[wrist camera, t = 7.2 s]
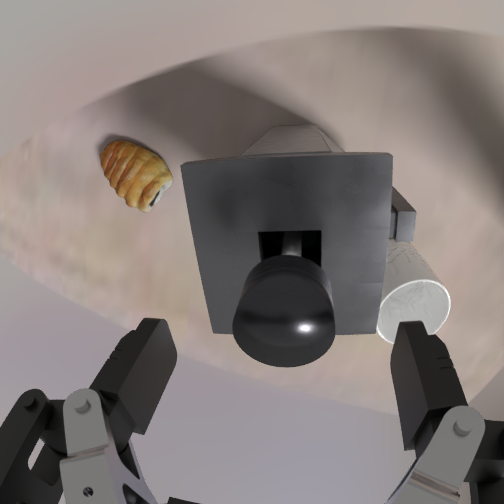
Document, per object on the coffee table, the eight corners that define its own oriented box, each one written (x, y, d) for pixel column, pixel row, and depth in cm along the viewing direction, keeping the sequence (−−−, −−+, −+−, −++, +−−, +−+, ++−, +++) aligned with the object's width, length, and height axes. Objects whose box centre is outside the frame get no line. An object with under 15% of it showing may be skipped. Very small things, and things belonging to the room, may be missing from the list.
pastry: (99, 168, 35) (81, 176, 32) (123, 124, 32) (105, 128, 29) (153, 212, 37) (139, 224, 33) (182, 170, 34) (169, 178, 30)
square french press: (368, 124, 28) (447, 157, 12) (367, 216, 33) (418, 331, 16) (244, 128, 30) (175, 164, 14) (254, 219, 35) (209, 333, 18)
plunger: (346, 145, 21) (413, 222, 8) (346, 243, 25) (377, 397, 12) (239, 150, 23) (148, 230, 10) (250, 245, 26) (198, 393, 13)
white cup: (360, 293, 37) (372, 349, 28) (360, 235, 34) (377, 283, 25) (418, 287, 36) (442, 339, 27) (423, 230, 32) (457, 275, 23)
